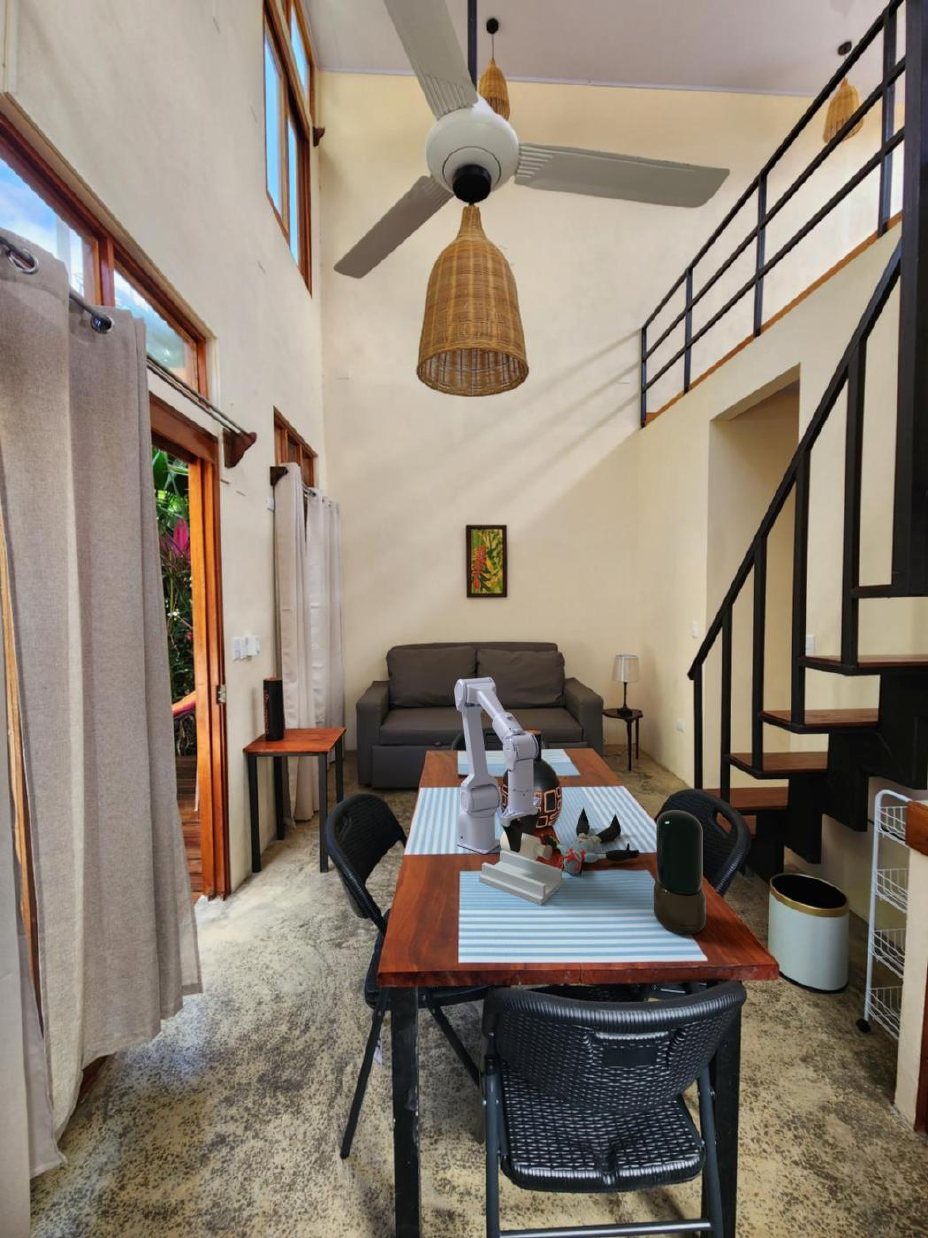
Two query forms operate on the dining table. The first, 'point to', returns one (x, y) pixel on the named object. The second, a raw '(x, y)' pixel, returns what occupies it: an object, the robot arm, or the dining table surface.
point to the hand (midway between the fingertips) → (521, 846)
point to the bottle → (528, 847)
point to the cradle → (522, 877)
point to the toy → (589, 846)
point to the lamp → (679, 873)
